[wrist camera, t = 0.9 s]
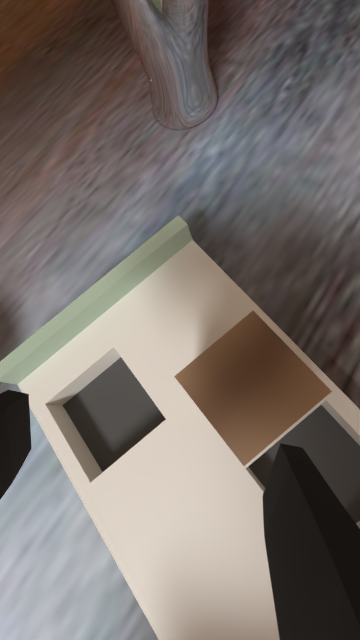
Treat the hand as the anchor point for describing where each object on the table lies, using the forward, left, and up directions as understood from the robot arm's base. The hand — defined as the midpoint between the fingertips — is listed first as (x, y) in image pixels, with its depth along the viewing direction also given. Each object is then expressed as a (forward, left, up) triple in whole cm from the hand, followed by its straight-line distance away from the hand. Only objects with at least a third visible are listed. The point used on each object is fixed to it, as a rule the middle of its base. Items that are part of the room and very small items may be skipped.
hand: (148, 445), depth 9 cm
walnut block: (0, -4, -11) cm, 12 cm away
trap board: (+1, 0, -14) cm, 14 cm away
